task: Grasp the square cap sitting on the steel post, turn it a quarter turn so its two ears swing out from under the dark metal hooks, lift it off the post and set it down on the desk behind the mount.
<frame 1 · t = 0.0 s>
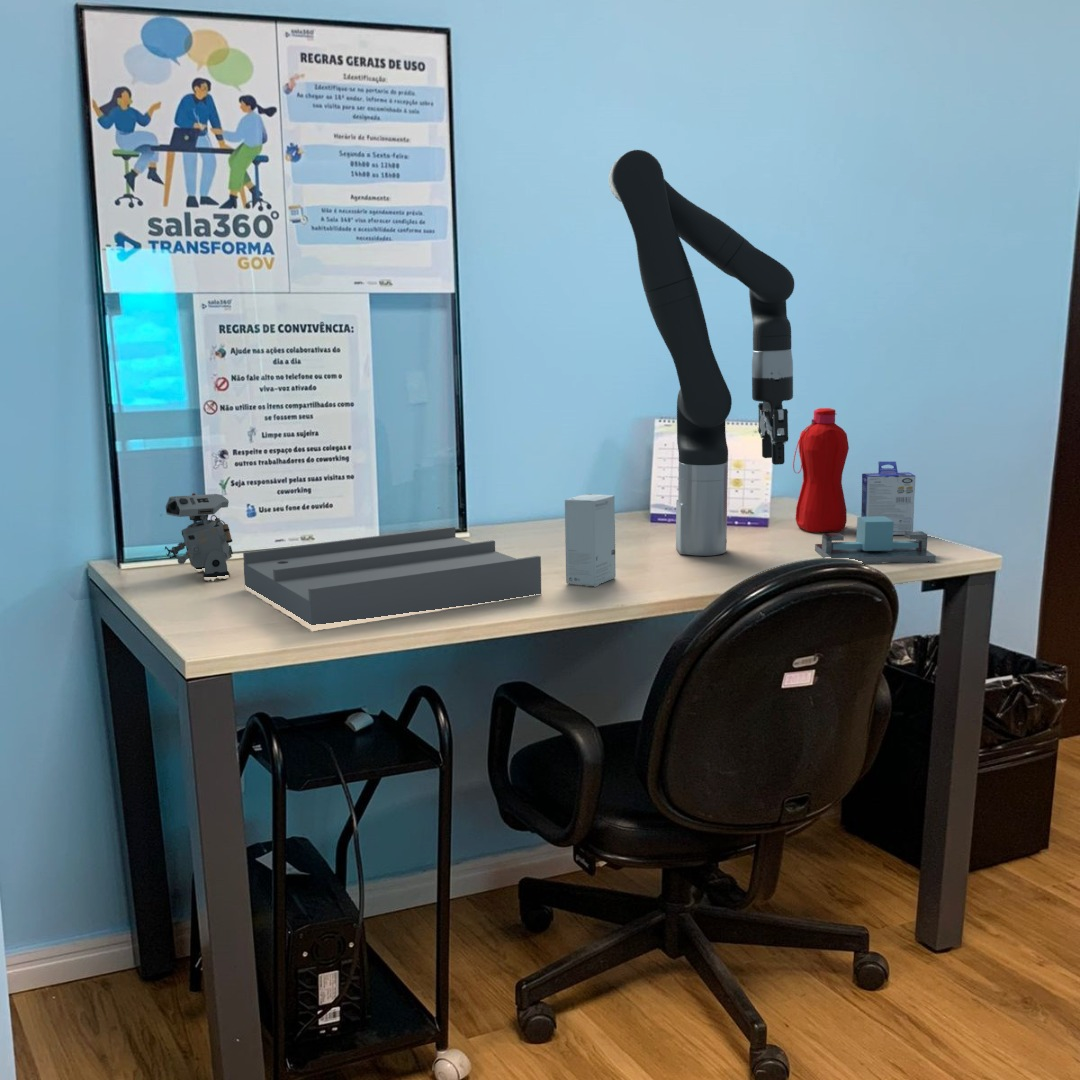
hand: (773, 460, 232), 17 cm above the table, tool pointing down, fingers open, 8 cm apart
ink cartridge box: (886, 534, 250), on the table
cap: (874, 547, 229), point 2 cm above the table, touching mount
figurine: (200, 578, 219), on the table
mount: (873, 556, 229), on the table
skincare box: (590, 582, 213), on the table
water bottle: (816, 530, 255), on the table
desk organizer: (391, 596, 207), on the table
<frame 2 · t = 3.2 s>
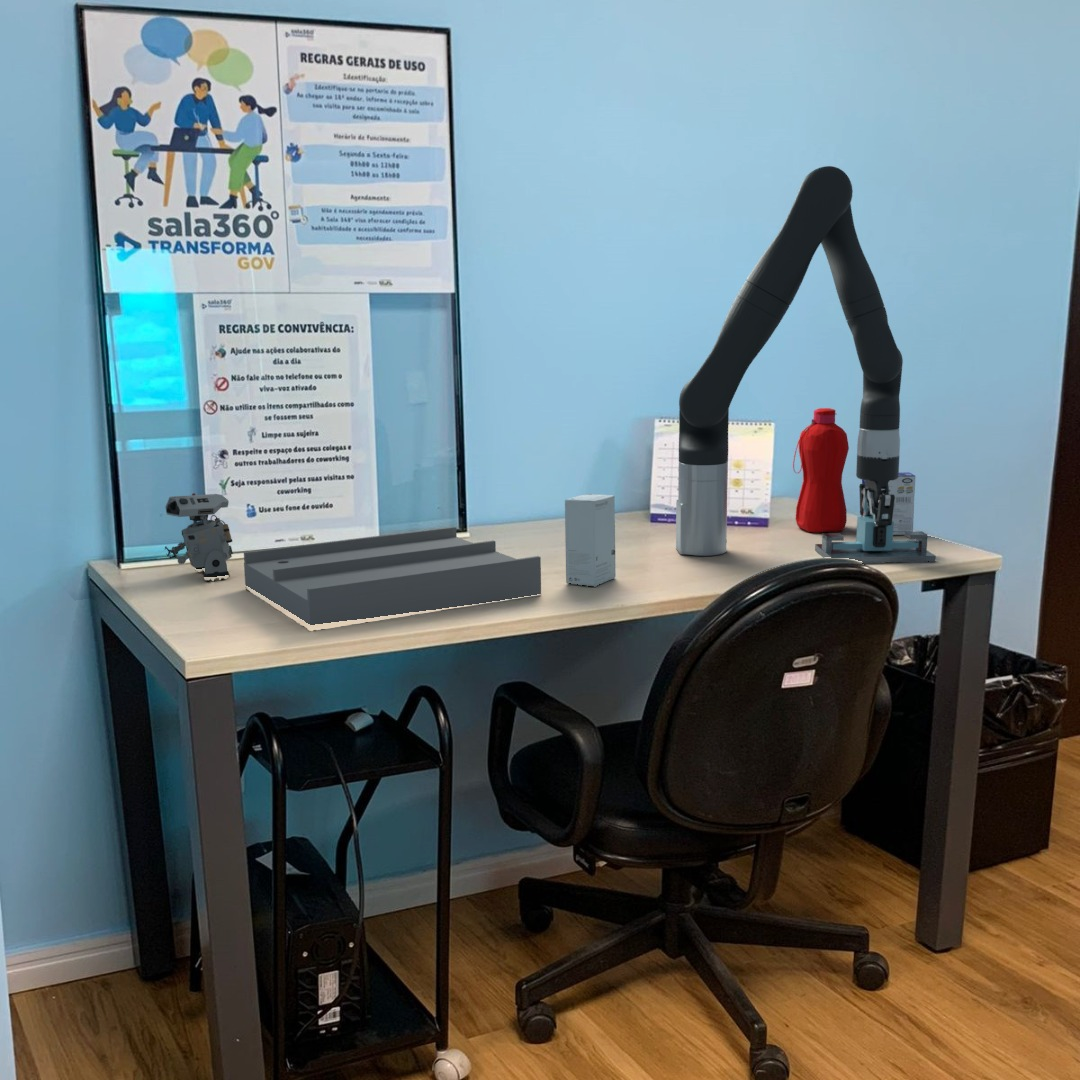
hand: (874, 543, 229), 2 cm above the table, tool pointing down, fingers closed on cap, 5 cm apart
cap: (874, 547, 229), point 2 cm above the table, touching gripper, mount
everything else where it was.
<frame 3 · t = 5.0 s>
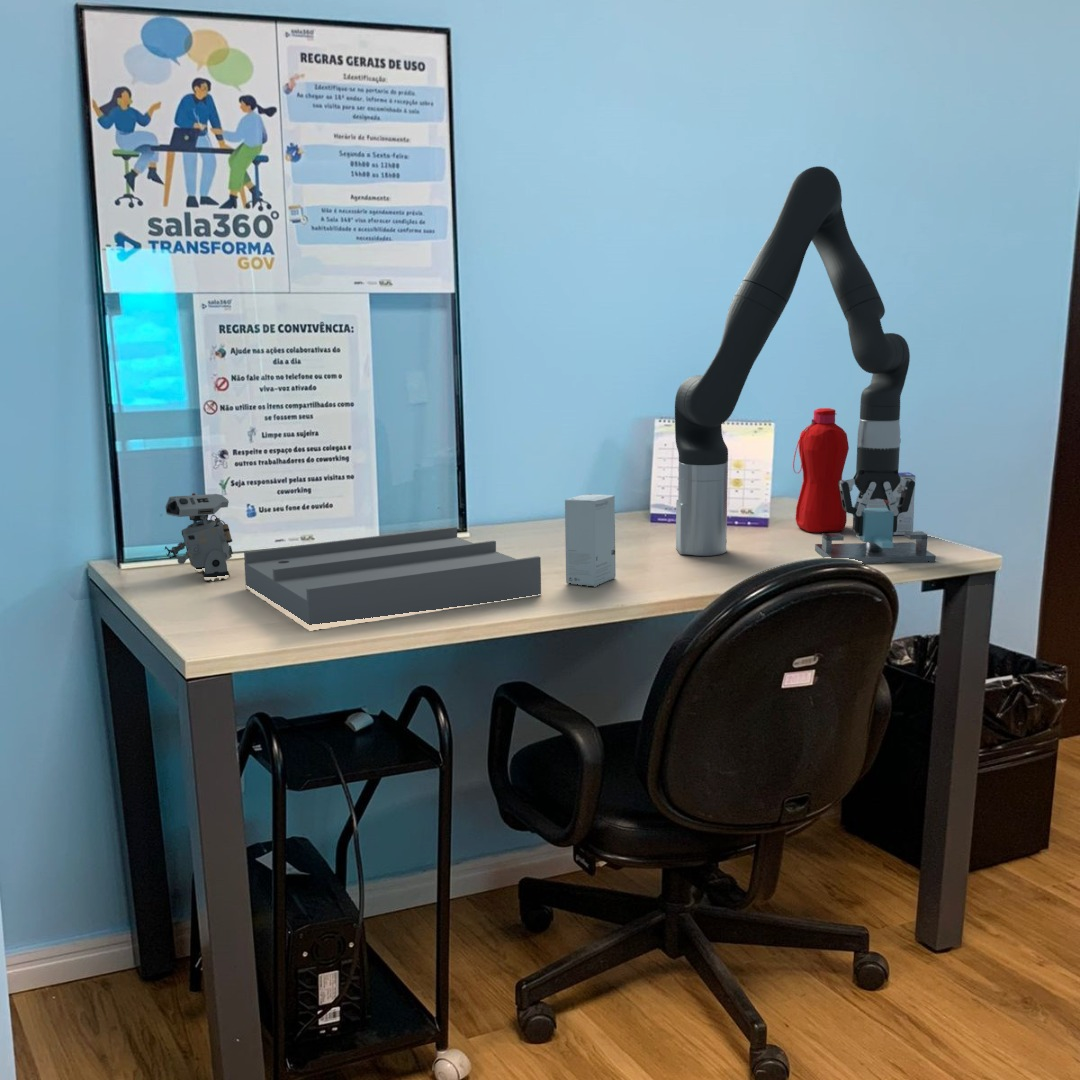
hand: (874, 534, 228), 4 cm above the table, tool pointing down, fingers closed on cap, 5 cm apart
cap: (874, 539, 229), point 3 cm above the table, touching gripper
everything else where it was.
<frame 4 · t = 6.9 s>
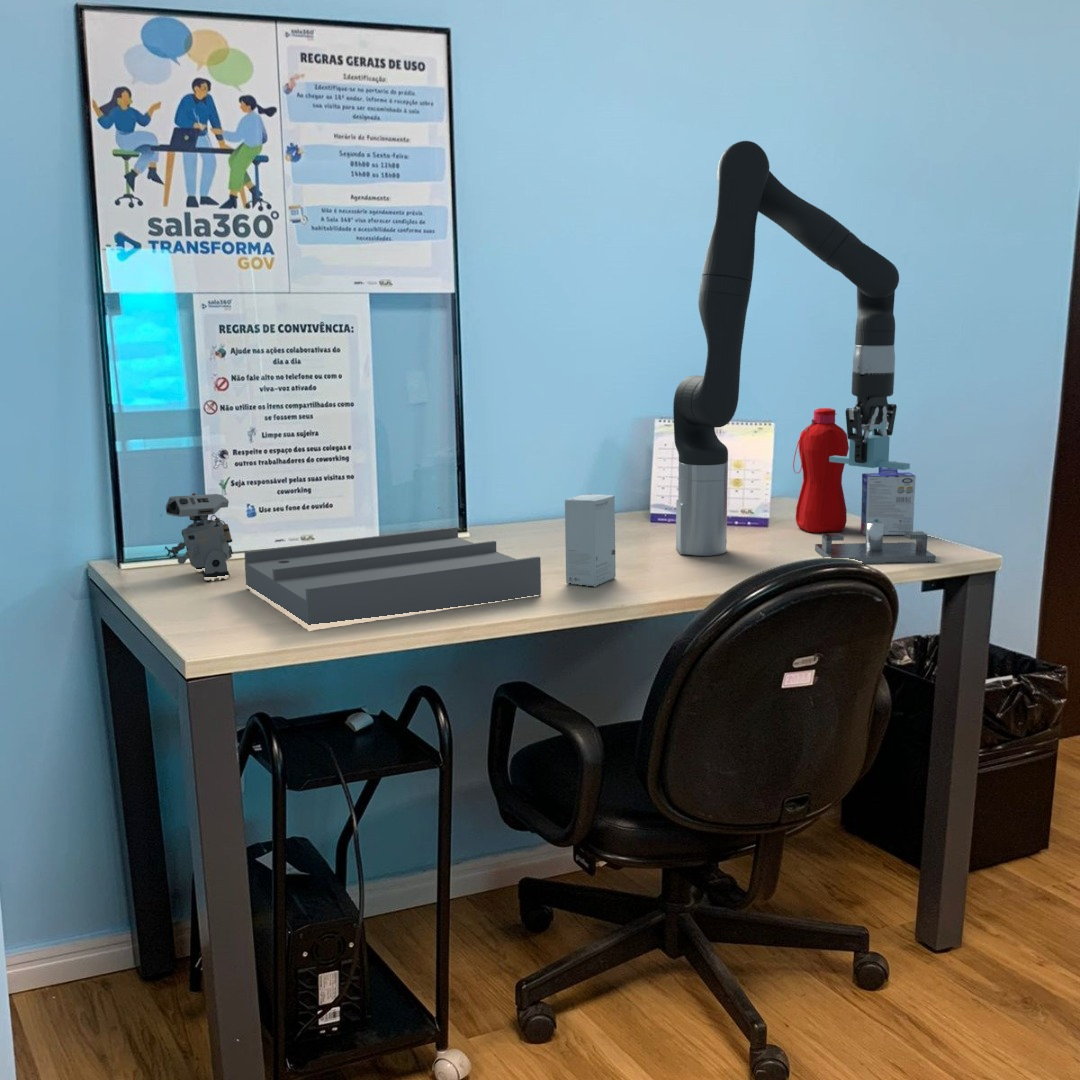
hand: (869, 460, 231), 17 cm above the table, tool pointing down, fingers closed on cap, 5 cm apart
cap: (868, 465, 231), point 16 cm above the table, touching gripper
everything else where it was.
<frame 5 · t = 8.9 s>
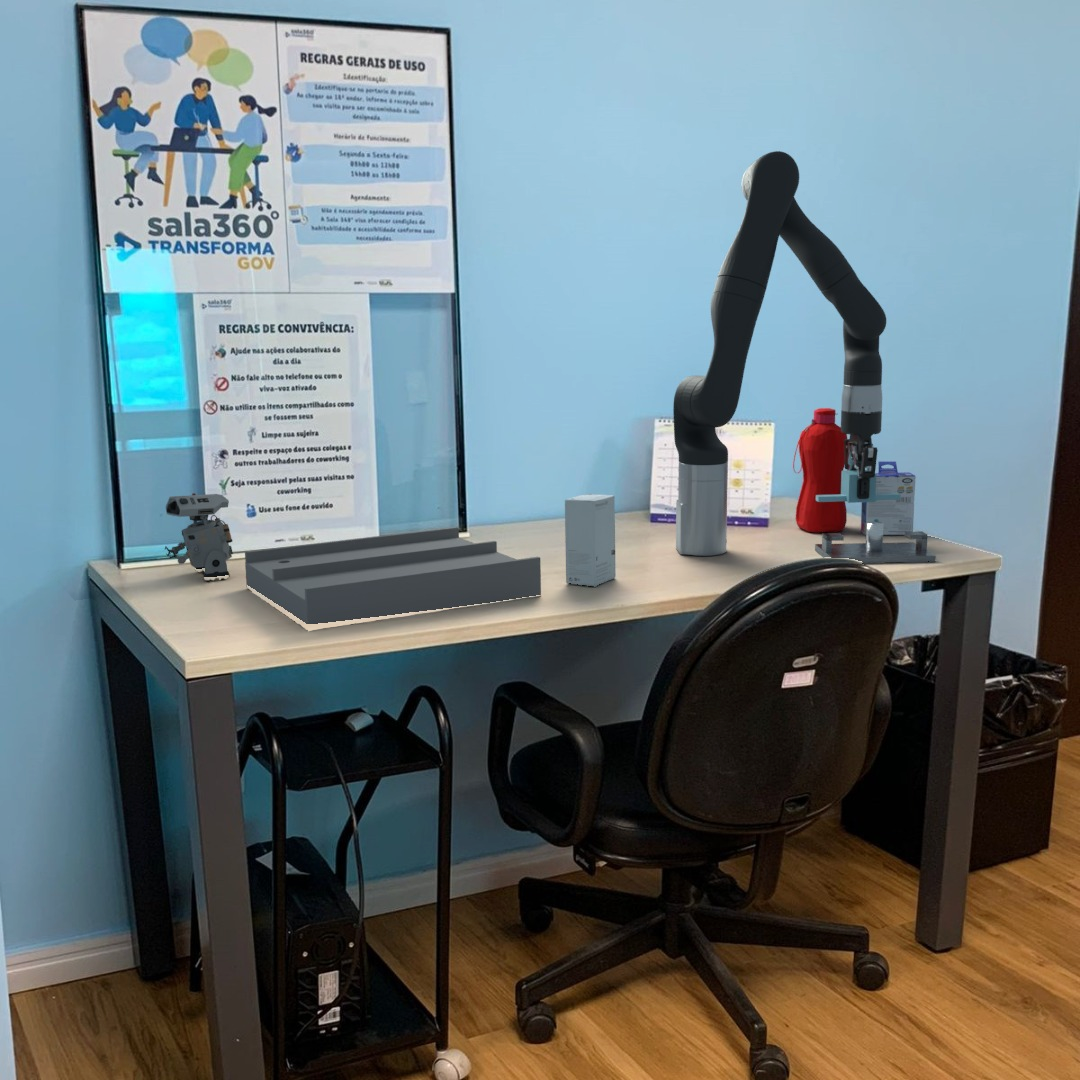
hand: (858, 495, 238), 10 cm above the table, tool pointing down, fingers closed on cap, 5 cm apart
cap: (857, 499, 239), point 9 cm above the table, touching gripper
everything else where it was.
when the fingers open (2 cm above the table, at t = 10.8 s): cap stays where it is, on the table.
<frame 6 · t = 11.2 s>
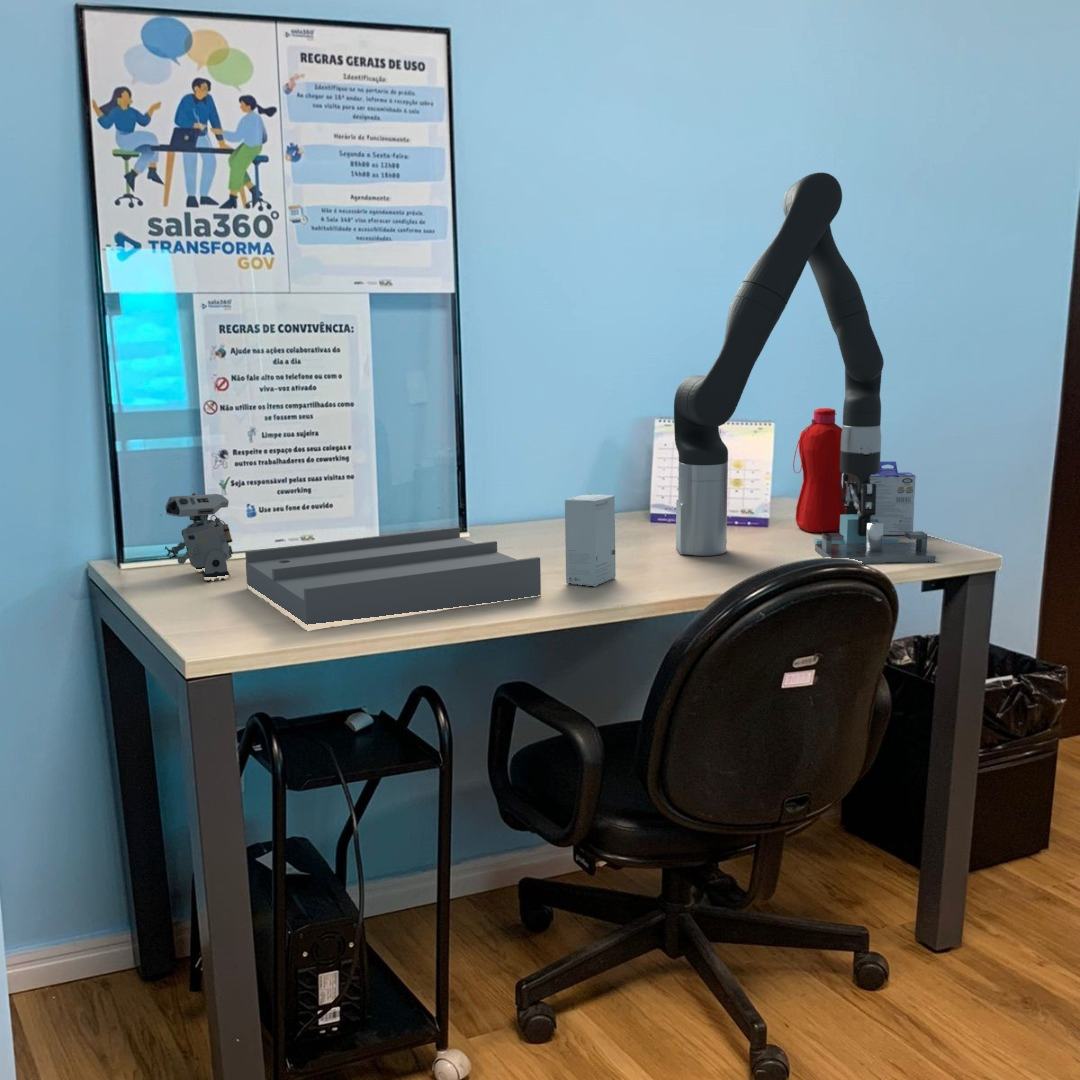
hand: (857, 531, 240), 2 cm above the table, tool pointing down, fingers open, 8 cm apart
cap: (856, 544, 240), on the table
everything else where it was.
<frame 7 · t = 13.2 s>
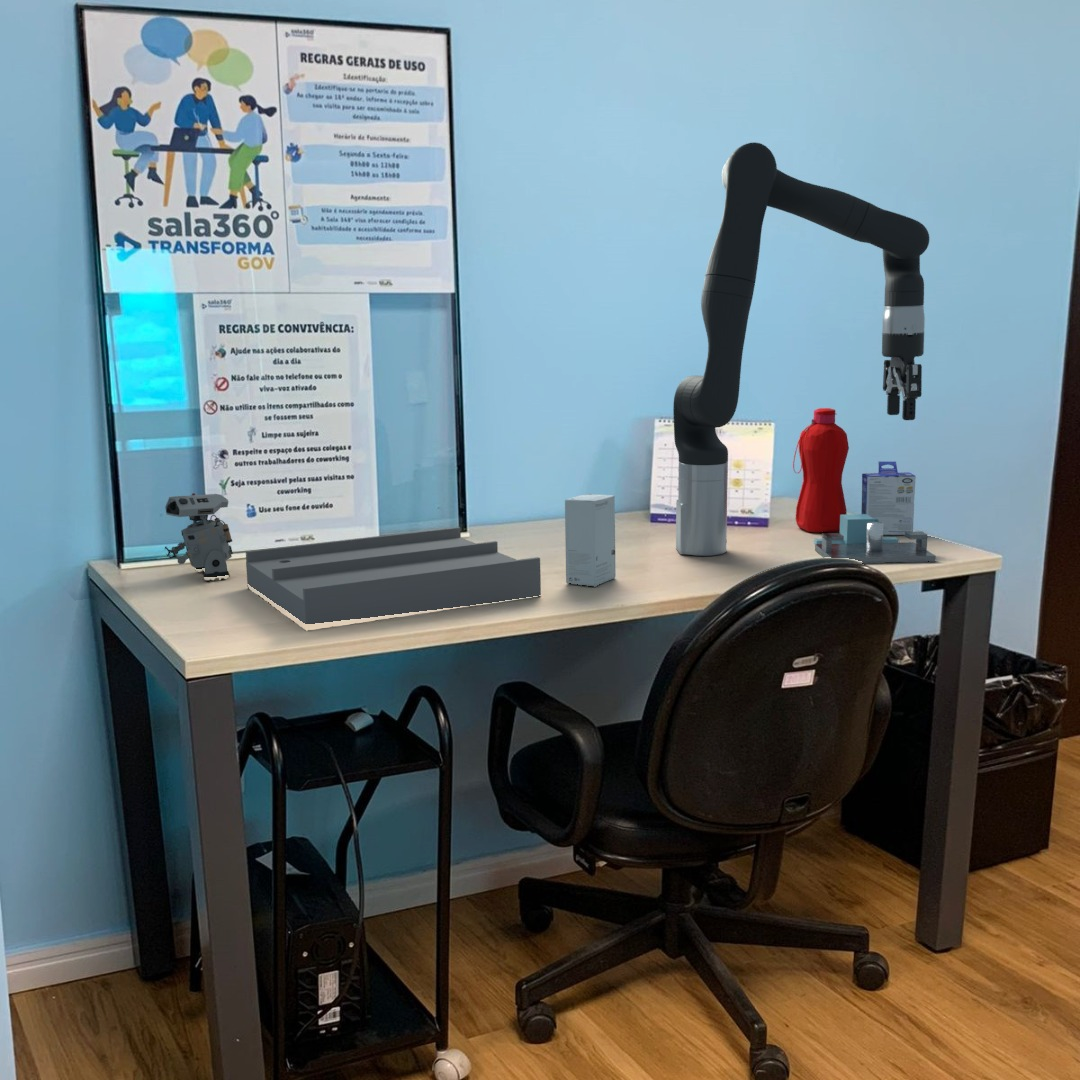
hand: (900, 417, 233), 25 cm above the table, tool pointing down, fingers open, 8 cm apart
nothing on the table moved.
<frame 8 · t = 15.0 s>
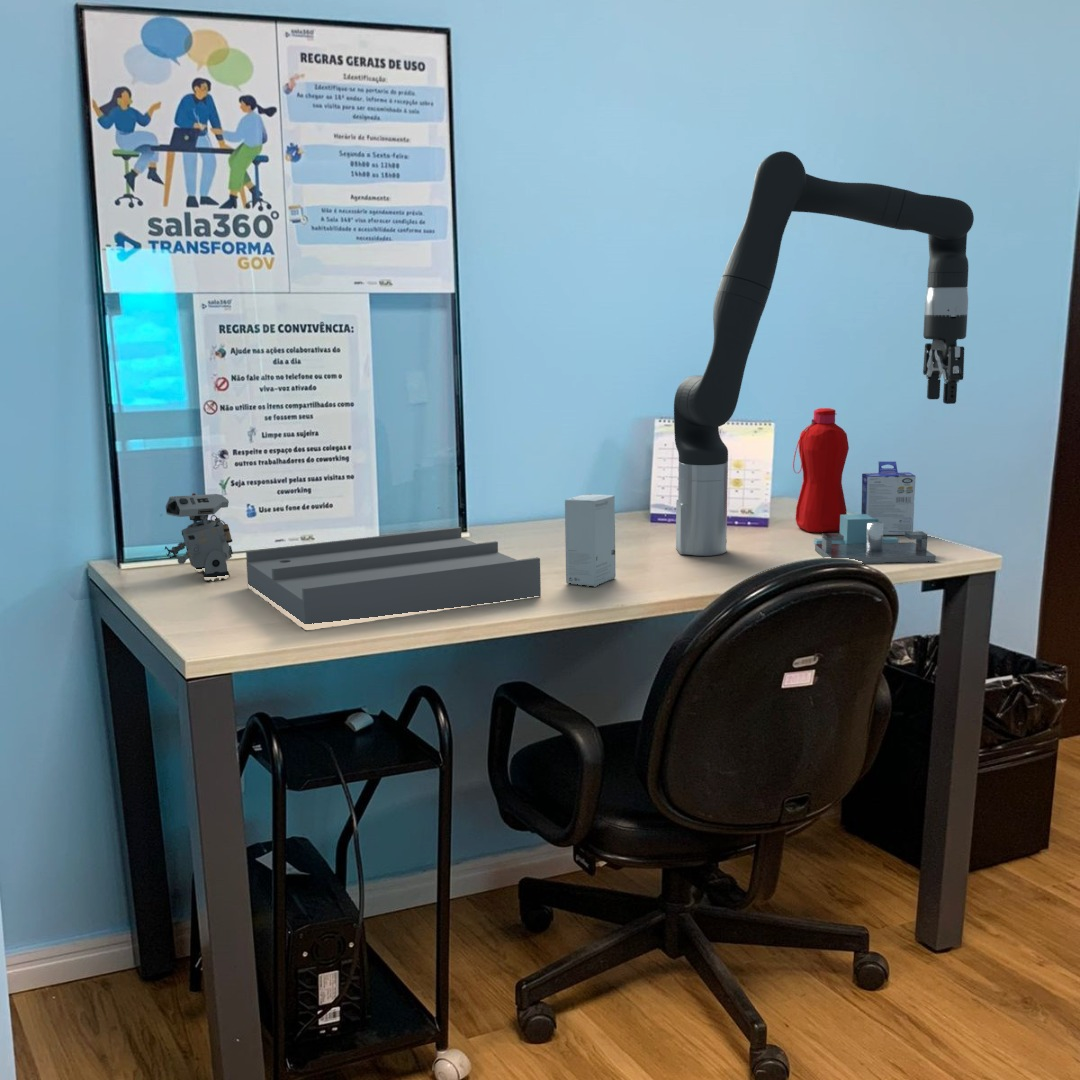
hand: (941, 401, 229), 28 cm above the table, tool pointing down, fingers open, 8 cm apart
nothing on the table moved.
at the end: cap inside the target area on the table beside the mount (1.5 cm from its centre), on the table; cap tilted 0°; the gripper is holding nothing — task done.
